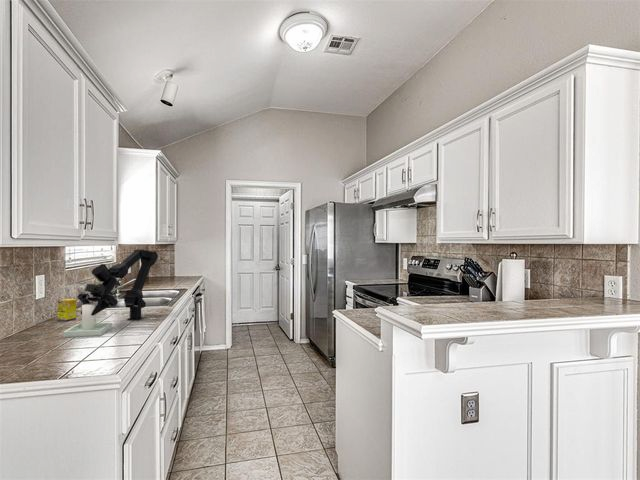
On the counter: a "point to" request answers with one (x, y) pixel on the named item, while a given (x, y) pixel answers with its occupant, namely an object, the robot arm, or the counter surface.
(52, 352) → the counter surface
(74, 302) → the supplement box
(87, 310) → the canister
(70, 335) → the tray
